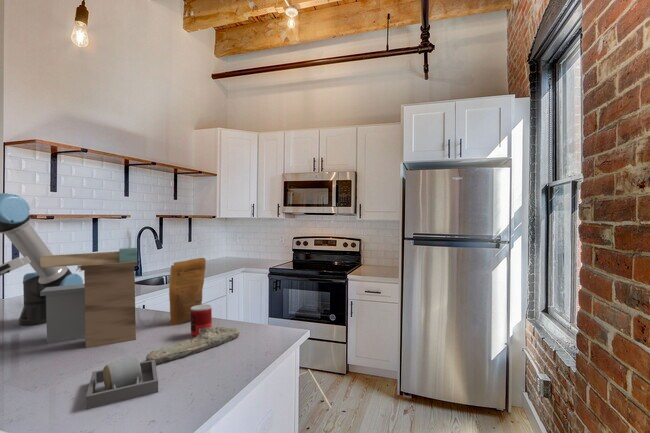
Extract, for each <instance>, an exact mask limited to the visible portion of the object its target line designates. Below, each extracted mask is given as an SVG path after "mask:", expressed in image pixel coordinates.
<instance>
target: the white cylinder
mask: <svg viewBox="0 0 650 433" xmlns="http://www.w3.org/2000/svg"><path fill="white" fill-rule="evenodd" d="M102 370H103V379H104V381H103V384H104V387H105V389H106V390H105V391H107V390H111V389H116V388H120V387H125V386H129V385H134V384H138V383H141V381H142V373H141V367H140V359H139V358H138V356H137V355H136V354H132V355H130V356H127V357H124V358H121V359H119V360H116V361H112V362H110V363H107V364H105V365H104V367H103V369H102Z"/></svg>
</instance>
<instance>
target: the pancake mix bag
mask: <svg viewBox="0 0 650 433" xmlns="http://www.w3.org/2000/svg"><path fill="white" fill-rule="evenodd" d="M206 262H207V260H206V258H205V257H198V258H193V259H188V260H182V261H176V262H173V265H171V266H170V272H169V275H170V276H169V280H168V281H169V282H168V295H169V296H168V298H169V299H168V300H169V315H170V322H169V326H180V325H183V324H186V323H187V324H188V323H191V307H193V306H197V305H203V304H202V303H203V289H204V288H203V287H204V282H205V272H206V265H207V264H206Z"/></svg>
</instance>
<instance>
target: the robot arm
mask: <svg viewBox="0 0 650 433" xmlns="http://www.w3.org/2000/svg"><path fill="white" fill-rule="evenodd" d="M31 219H32V218H31V216H30V205H29V203H28V202H27V201H26V199H24V198H23V197H21V196H20V195H17V194H14V193H8V192H7V193H5V192H3V193H0V234H4V235H5V236H6V237H7V238H8V239H9V241H10V242H11V243H12V244H13V246H14V247H15V249H17V251H18V252H19V253H20V255H22V257H20V256H18V257H15V258H13V259H11V260H9V261H6V262H4V263H2V264H0V277H1V276H4V275H6V274H9V273H11V272H13V271H15V270H17V269H19V268H21V267H23V266H25V265H28V264H29V265H30V266H31V268H32V269H33V270H34V272H29V273H26V274H24V276H23V279H22V285H23V287H22V290H23V292H22V293H23V307H22V310H21V313H20V316H19V318H18V325H20V326H33V325H41V324H47V320H46V295H45V296H40V292H41V291H42V290H44V289H45V288H46V287H57V286H67V285H78V284H84V279H83V277H82V275H81V274H77V273H72V271H71V270H70V269H69V266H60V267H46V268H41V264H40V256H47V255H54V253H53V252H52V251H51V250H50V249H49V247H48V246H47V244H46V243H45V242H44V241H43V239H42V238H41V237H40V235H39V234H38V232H37V231H36V230H35V229H34V227H33V226H32V224H31V223H30V222H31Z"/></svg>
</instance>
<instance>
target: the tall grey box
mask: <svg viewBox="0 0 650 433" xmlns="http://www.w3.org/2000/svg"><path fill="white" fill-rule="evenodd" d="M45 295H46V320H47V323H46V344H47V345H48V344H54V343H60V342H61V343H62V342H66V341H67V342H68V341H72V340H74V341H75V340H79V339H86V334H85V283H83V284H78V285H67V286H57V287H46V288H45V289H44V290H42V291H41V292H40V296H45Z"/></svg>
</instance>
